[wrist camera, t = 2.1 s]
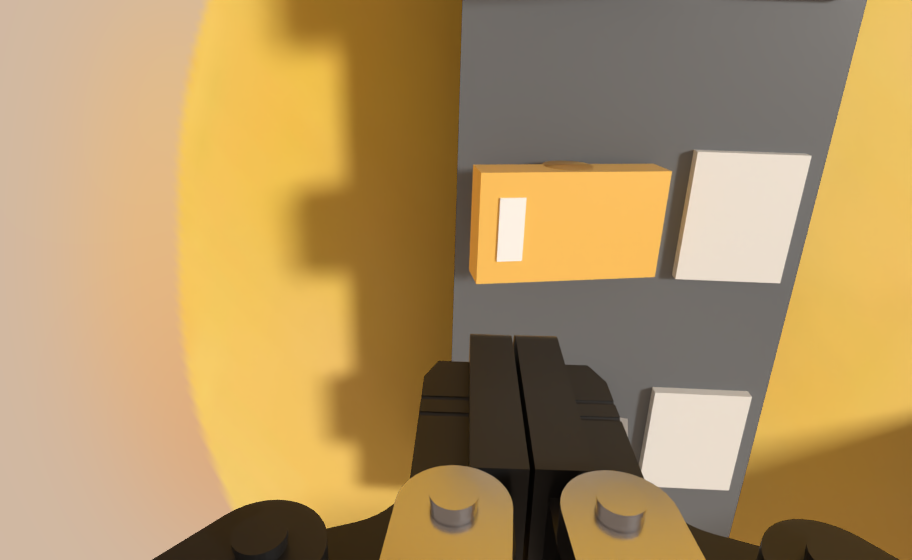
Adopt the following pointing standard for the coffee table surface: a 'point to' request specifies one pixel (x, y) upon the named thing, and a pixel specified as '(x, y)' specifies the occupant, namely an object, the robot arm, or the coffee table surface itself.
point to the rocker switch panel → (688, 206)
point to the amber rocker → (566, 221)
